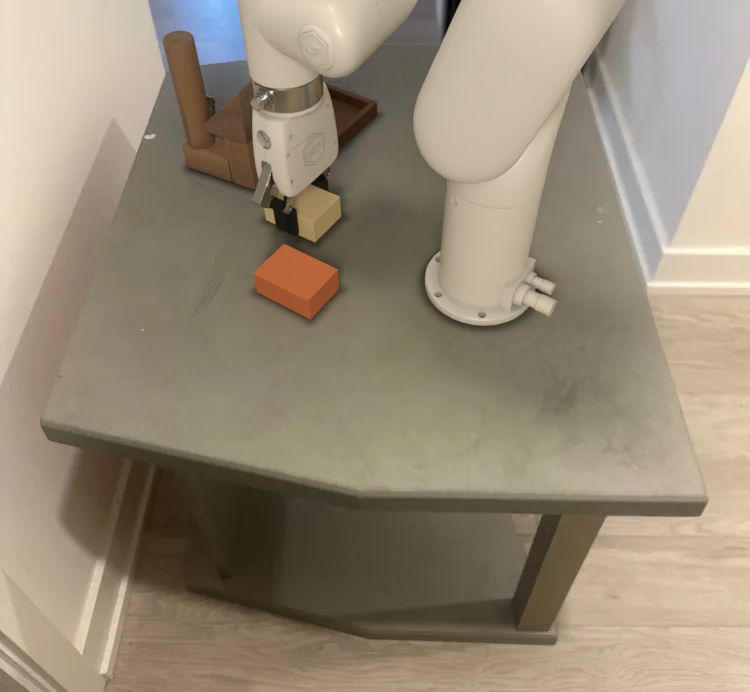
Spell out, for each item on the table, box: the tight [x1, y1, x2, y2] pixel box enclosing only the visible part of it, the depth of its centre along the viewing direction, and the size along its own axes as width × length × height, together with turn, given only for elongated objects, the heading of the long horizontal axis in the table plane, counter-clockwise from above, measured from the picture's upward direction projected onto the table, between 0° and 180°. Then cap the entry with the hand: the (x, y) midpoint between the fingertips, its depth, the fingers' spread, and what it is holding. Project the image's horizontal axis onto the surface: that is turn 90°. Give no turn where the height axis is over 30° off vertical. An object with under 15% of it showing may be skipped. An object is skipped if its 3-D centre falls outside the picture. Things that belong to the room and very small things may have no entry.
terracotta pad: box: [253, 243, 340, 320], centre depth 83 cm, size 8×6×3 cm
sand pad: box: [263, 184, 342, 243], centre depth 91 cm, size 8×6×3 cm
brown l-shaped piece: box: [162, 30, 259, 190], centre depth 91 cm, size 4×11×18 cm, turn 64°
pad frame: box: [230, 82, 378, 151], centre depth 105 cm, size 18×11×2 cm, turn 57°
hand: (303, 215), depth 92 cm, fingers closed on sand pad, 5 cm apart
